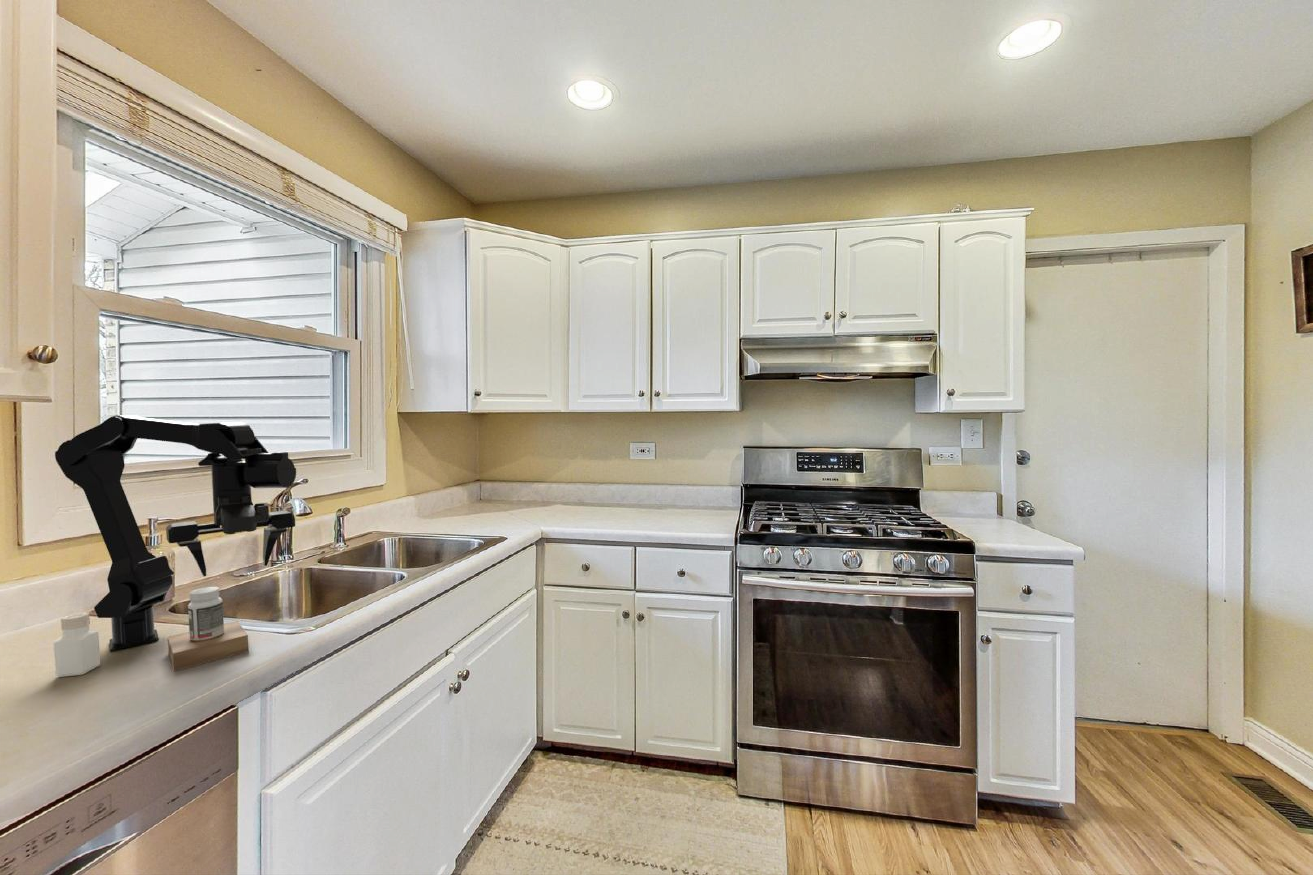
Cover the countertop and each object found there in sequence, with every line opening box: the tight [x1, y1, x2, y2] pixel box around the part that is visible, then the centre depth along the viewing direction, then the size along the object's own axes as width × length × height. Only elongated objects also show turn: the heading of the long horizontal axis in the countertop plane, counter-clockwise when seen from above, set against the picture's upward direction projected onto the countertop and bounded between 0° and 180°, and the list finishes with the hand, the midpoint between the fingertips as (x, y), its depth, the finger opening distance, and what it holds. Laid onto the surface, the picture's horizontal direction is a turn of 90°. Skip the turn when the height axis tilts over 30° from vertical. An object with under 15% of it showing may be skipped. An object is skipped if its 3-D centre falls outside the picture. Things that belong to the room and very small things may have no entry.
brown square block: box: [167, 620, 250, 672], centre depth 96 cm, size 10×10×3 cm
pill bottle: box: [187, 586, 225, 641], centre depth 96 cm, size 5×5×8 cm
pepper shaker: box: [53, 612, 101, 678], centre depth 89 cm, size 4×4×10 cm
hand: (235, 570), depth 102 cm, fingers open, 9 cm apart
